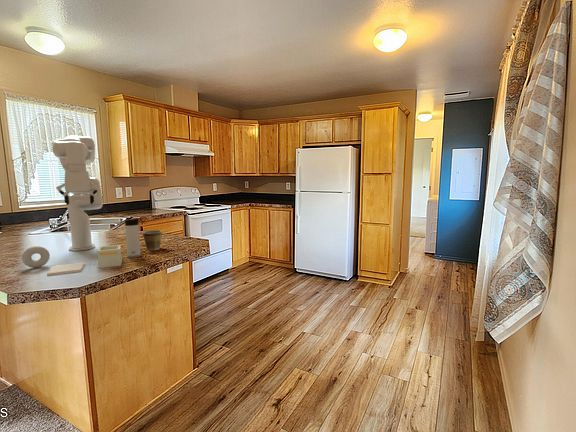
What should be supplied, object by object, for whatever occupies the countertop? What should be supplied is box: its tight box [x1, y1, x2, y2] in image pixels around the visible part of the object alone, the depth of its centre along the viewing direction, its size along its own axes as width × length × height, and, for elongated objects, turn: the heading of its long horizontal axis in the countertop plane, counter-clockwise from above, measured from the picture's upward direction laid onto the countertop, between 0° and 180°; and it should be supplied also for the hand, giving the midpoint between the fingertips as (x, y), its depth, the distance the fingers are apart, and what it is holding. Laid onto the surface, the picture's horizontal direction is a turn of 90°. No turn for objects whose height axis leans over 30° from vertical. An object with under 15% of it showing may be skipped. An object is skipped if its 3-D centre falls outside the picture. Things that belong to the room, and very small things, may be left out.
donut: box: [21, 245, 51, 269], centre depth 141 cm, size 10×4×10 cm, turn 132°
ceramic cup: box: [142, 229, 163, 251], centre depth 177 cm, size 13×10×10 cm
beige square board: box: [46, 262, 86, 276], centre depth 138 cm, size 12×12×1 cm
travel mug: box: [124, 217, 142, 259], centre depth 159 cm, size 6×7×20 cm
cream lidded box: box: [96, 244, 123, 269], centre depth 146 cm, size 9×9×8 cm
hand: (80, 204), depth 149 cm, fingers open, 9 cm apart
